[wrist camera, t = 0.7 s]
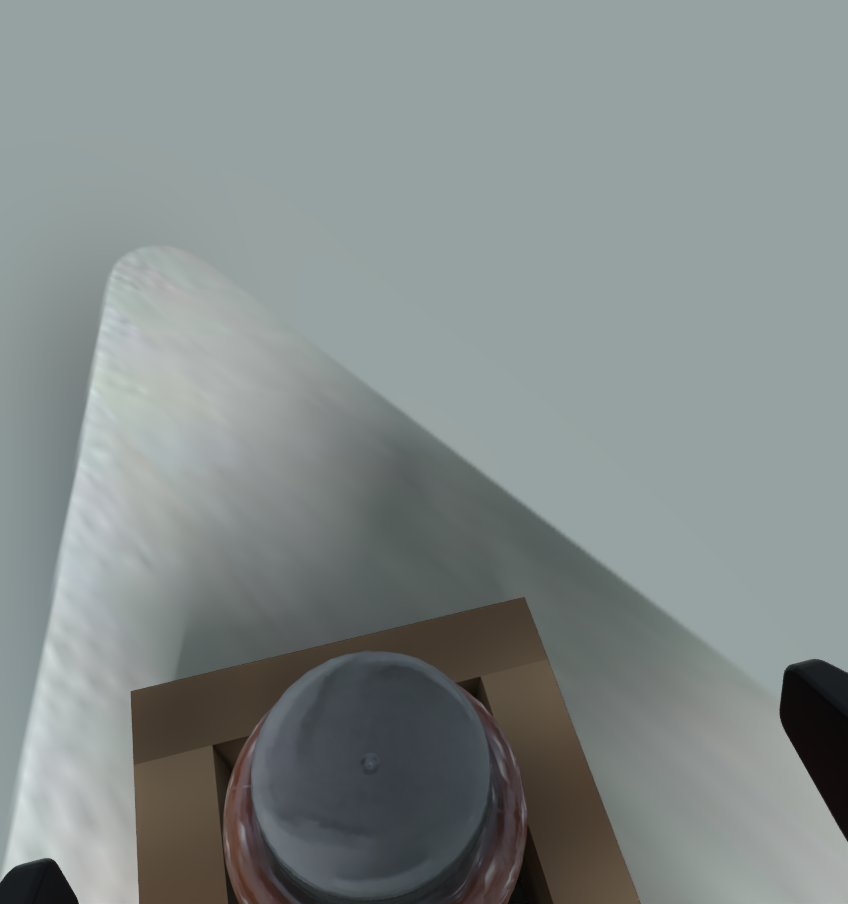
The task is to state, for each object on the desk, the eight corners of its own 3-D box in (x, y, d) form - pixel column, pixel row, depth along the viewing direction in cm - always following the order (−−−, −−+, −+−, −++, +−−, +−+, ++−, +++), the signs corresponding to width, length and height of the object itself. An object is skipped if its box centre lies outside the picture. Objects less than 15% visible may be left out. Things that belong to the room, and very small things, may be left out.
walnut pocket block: (659, 1064, 19) (703, 1069, 16) (194, 1233, 17) (154, 1270, 14) (511, 644, 26) (524, 596, 23) (162, 731, 24) (130, 691, 21)
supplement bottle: (507, 997, 20) (591, 964, 11) (275, 1026, 20) (165, 1016, 11) (475, 759, 24) (518, 587, 15) (278, 779, 23) (198, 613, 14)
